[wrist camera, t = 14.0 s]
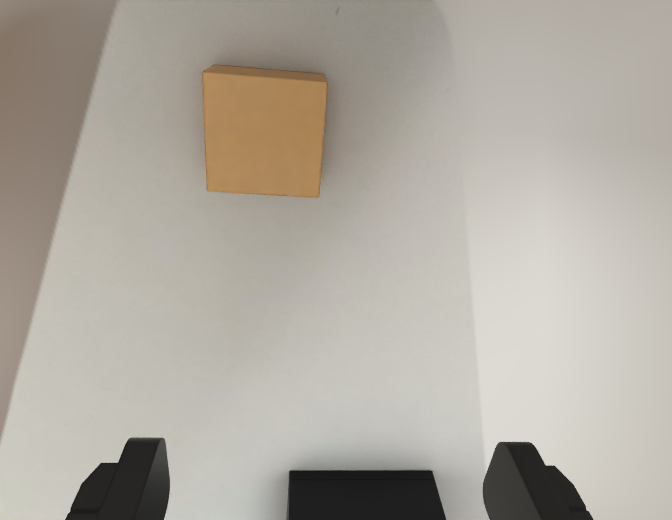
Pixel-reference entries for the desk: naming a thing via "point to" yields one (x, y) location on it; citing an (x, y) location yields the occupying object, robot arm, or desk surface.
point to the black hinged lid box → (363, 495)
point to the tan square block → (263, 130)
